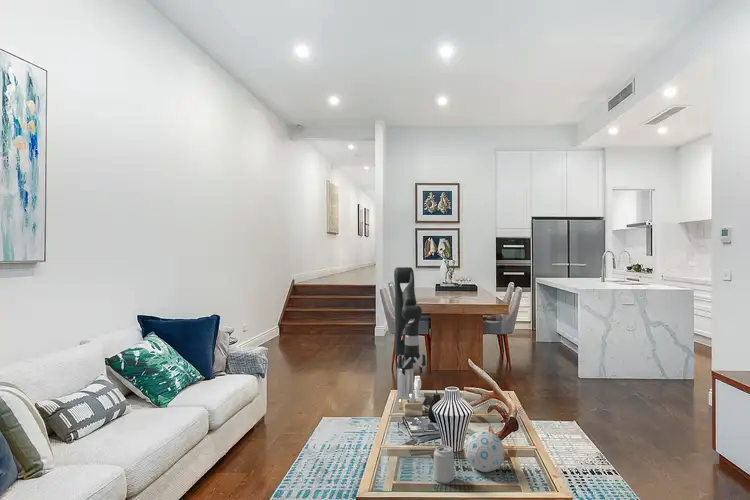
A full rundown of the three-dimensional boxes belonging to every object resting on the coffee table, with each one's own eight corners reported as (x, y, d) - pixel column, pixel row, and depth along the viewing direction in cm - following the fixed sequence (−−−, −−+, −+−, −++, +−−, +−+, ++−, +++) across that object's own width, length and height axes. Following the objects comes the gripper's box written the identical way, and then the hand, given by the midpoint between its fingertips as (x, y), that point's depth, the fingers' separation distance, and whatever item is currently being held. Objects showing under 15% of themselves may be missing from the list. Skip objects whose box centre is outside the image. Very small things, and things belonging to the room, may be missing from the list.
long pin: (409, 412, 275) (408, 393, 275) (414, 411, 275) (414, 392, 275) (410, 413, 272) (409, 394, 272) (415, 413, 272) (415, 394, 272)
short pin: (398, 408, 281) (398, 398, 281) (404, 408, 282) (404, 398, 281) (399, 409, 278) (399, 400, 278) (404, 409, 279) (404, 400, 278)
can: (440, 473, 202) (440, 442, 202) (457, 479, 197) (457, 447, 197) (430, 480, 196) (429, 448, 196) (447, 486, 191) (447, 454, 191)
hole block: (402, 410, 277) (402, 399, 277) (419, 409, 278) (418, 398, 278) (405, 416, 269) (405, 404, 268) (422, 415, 270) (422, 403, 269)
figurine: (422, 400, 295) (421, 373, 295) (426, 405, 286) (425, 378, 286) (409, 400, 294) (409, 374, 294) (413, 405, 285) (412, 378, 285)
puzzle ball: (457, 469, 206) (457, 431, 205) (481, 458, 215) (481, 422, 215) (488, 482, 194) (488, 442, 194) (512, 471, 204) (512, 433, 203)
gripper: (423, 341, 277) (423, 371, 278) (397, 342, 276) (397, 372, 276) (426, 344, 270) (426, 375, 270) (399, 345, 268) (399, 376, 269)
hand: (412, 374), depth 273 cm, fingers open, 8 cm apart
